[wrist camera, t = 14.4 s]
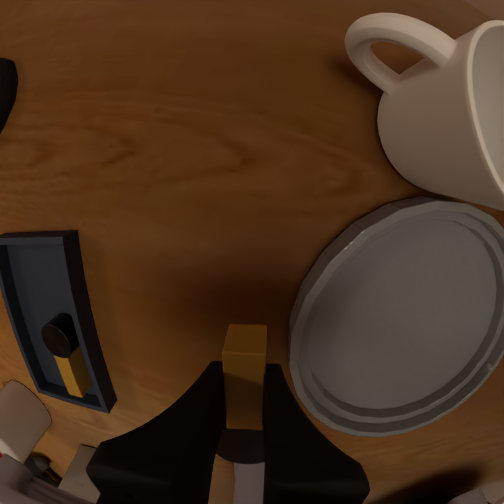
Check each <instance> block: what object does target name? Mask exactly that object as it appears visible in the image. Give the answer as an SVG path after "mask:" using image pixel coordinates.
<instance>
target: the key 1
mask: <svg viewBox="0 0 504 504" xmlns="http://www.w3.org/2000/svg"><path fill="white" fill-rule="evenodd" d="M41 335H42V339H43V342H44V344H45V346H46V347H47V348H48V350H49V351H50V352H51V353H52V354H54V357H55V360H56V362H57V365H58V368H59V370H60V373H61V375H62V378H63V380H64V383H65V385H66V388H67V390H68V392H69V394H70V395H74V396H77V397H81V398H83V397H84V395H85V394H86V392H87V391H88V390H89V388H90V387H91V386H92V384H93V383H92V381H91V378H90V375H89V372H88V369H87V366H86V363H85V360H84V357H83V354H82V351H81V348H80V344H79V341H78V337H77V334H76V330H75V326H74V323H73V319H72V316H70V315H69V314H66V313H60V314H58V315H56V316H55V317H54V318H53V319H52V320H50V321H49V322H48V323H47V324H45V325H44V326H43V328H42V331H41Z"/></svg>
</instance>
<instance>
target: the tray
mask: <svg viewBox="0 0 504 504" xmlns="http://www.w3.org/2000/svg"><path fill="white" fill-rule="evenodd" d="M0 287H1V291H2V295H3V298H4V302H5V306H6V309H7V312H8V316H9V319H10V322H11V325H12V328H13V331H14V334H15V337H16V340H17V343H18V345H19V348H20V351H21V353H22V356H23V358H24V361H25V363H26V366H27V368H28V371H29V373H30V375H31V377H32V380H33V382H34V384H35V386H36V388H37V391H38V392H39V393H42V394H45V395H48V396H51V397H54V398H57V399H60V400H63V401H66V402H69V403H72V404H76V405H79V406H83V407H86V408H90V409H93V410H97V411H101V412H105V413H110V411H111V409H112V408H113V406H114V404H115V403H116V401H117V399H116V396H115V393H114V390H113V387H112V384H111V381H110V378H109V375H108V372H107V369H106V366H105V362H104V359H103V355H102V352H101V348H100V345H99V341H98V337H97V333H96V329H95V325H94V321H93V317H92V313H91V308H90V304H89V299H88V294H87V289H86V284H85V278H84V273H83V267H82V261H81V254H80V247H79V240H78V232H77V230H75V231H43V232H18V233H4V234H1V235H0ZM60 313H66V314H69V315H70V316H72V319H73V323H74V326H75V330H76V334H77V337H78V341H79V344H80V348H81V351H82V354H83V357H84V360H85V363H86V366H87V369H88V372H89V375H90V378H91V381H92V383H93V384H92V386H91V387H90V388H89V390H88V391H87V392H86V394H85V395H84V397H83V398H81V397H77V396H74V395H70V394H69V392H68V390H67V388H66V385H65V383H64V380H63V378H62V375H61V373H60V370H59V368H58V365H57V362H56V360H55V357H54V354H52V353H51V352H50V351H49V350H48V348H47V347H46V346H45V344H44V342H43V339H42V335H41V331H42V328H43V326H44V325H45V324H47V323H48V322H49V321H50V320H52V319H53V318H54V317H55V316H56V315H58V314H60Z"/></svg>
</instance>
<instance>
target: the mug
mask: <svg viewBox="0 0 504 504" xmlns="http://www.w3.org/2000/svg"><path fill="white" fill-rule="evenodd" d="M376 42H392V43H396V44H400V45H402V46H405V47H407V48H409V49H411V50H413V51H415V52H417V53H418V54H420V55H422V56H423V57H424V59H422V60H421V61H419V62H418V63H416V64H415V65H413V66H412V67H410V68H408V69H407V70H405V71H404V72H403V73H401V74H400V75H399V74H398V73H396V72H395V71H393V70H392V69H390V68H389V67H387V66H386V65H385V64H383V63H382V62H381V61H380V60H379V59H378V58H377V57H376V56H375V55H374V54H373V52H372V51H371V48H370V46H371V45H372V44H373V43H376ZM345 47H346V51H347V54H348V56H349V58H350V60H351V61H352V63H353V64H354V65H355V67H356V68H357V69H358V70H359V71H360V72H361V73H362V74H363V75H364V76H365V77H366V78H367V79H369V80H370V81H371V82H372V83H373V84H375V85H376V86H377V87H379V88H380V89H381V90H383V91H384V93H383V95H382V97H381V100H380V103H379V108H378V119H377V122H378V131H379V137H380V140H381V143H382V146H383V149H384V151H385V154H386V155H387V157H388V159H389V161H390V162H391V164H392V165H393V166H394V168H395V169H396V170H397V171H398V172H399V174H400V175H402V176H403V177H404V178H405V179H406V180H408V181H409V182H410V183H412V184H413V185H415V186H417V187H419V188H421V189H424V190H427V191H430V192H433V193H437V194H442V195H446V196H450V197H454V198H458V199H462V200H466V201H470V202H474V203H477V204H481V205H485V206H488V207H492V208H495V209H499V210H502V211H504V21H501V20H492V21H488V22H485V23H483V24H481V25H480V26H478V27H476V28H475V29H473V30H471V31H469V32H468V33H466V34H464V35H462V36H460V37H459V38H457V39H456V40H453V39H452V38H451V37H449V36H448V35H446V34H445V33H443V32H442V31H440V30H439V29H437V28H435V27H433V26H431V25H429V24H427V23H425V22H423V21H421V20H418V19H415V18H412V17H409V16H406V15H401V14H395V13H376V14H370V15H367V16H364V17H361V18H359V19H358V20H356V21H355V22H354V23H353V24H352V25H351V26H350V27H349V29H348V30H347V33H346V36H345Z"/></svg>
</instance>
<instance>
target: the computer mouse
mask: <svg viewBox="0 0 504 504" xmlns="http://www.w3.org/2000/svg"><path fill="white" fill-rule="evenodd" d="M17 84H18V77H17V73H16V68H15V64H14V62H13V61H11V60H7V59H4V58H1V57H0V133H1V131H2V129H3V127H4V125H5V123H6V121H7V118H8V116H9V113H10V111H11V109H12V106H13V104H14V102H15V96H16V90H17Z"/></svg>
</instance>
